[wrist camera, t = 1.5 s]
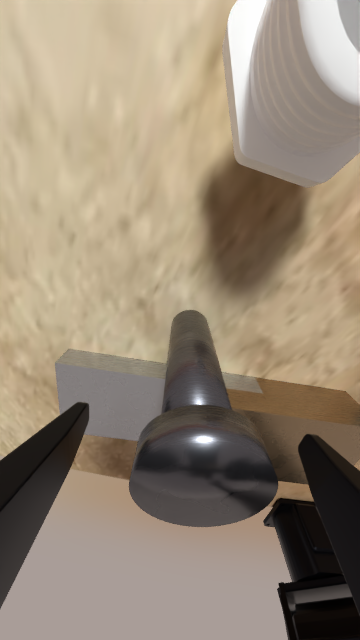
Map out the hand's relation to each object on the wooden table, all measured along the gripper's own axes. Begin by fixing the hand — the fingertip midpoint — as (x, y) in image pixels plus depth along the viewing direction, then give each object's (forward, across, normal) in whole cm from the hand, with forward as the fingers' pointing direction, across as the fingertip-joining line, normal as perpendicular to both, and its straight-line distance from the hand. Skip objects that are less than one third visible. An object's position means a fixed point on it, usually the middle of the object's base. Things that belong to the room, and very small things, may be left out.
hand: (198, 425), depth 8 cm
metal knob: (+9, 0, 0) cm, 9 cm away
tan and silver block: (+9, -3, +8) cm, 12 cm away
